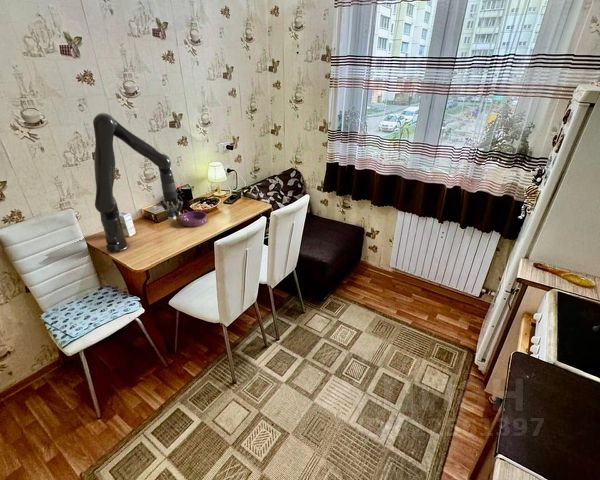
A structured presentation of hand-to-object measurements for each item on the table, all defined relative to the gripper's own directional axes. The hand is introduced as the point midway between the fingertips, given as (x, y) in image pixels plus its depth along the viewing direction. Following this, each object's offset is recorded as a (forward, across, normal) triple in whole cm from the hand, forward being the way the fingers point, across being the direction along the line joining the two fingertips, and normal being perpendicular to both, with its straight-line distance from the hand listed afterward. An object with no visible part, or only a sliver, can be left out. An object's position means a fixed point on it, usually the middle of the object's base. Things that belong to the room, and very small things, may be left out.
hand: (174, 216), depth 186 cm
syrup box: (+15, -33, -1) cm, 37 cm away
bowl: (+15, 0, +24) cm, 29 cm away
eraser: (0, 0, 0) cm, 0 cm away
